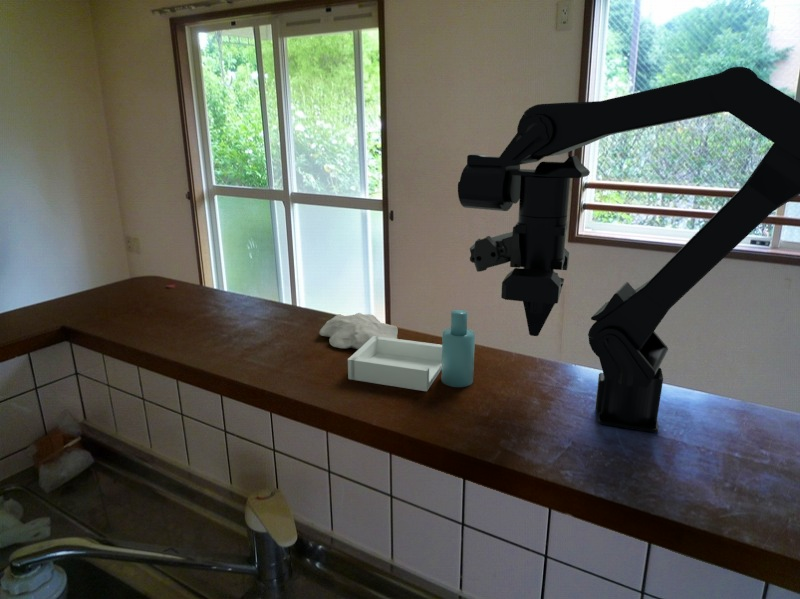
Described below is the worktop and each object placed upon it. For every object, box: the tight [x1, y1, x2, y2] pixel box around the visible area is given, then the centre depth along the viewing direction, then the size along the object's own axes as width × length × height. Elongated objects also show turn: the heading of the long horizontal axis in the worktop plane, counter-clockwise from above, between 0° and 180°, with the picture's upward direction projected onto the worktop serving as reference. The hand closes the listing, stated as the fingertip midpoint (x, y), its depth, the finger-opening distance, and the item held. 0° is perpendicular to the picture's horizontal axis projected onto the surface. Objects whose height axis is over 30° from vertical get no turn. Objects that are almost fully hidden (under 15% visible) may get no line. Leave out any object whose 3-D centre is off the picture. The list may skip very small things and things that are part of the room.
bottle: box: [440, 309, 476, 388], centre depth 76 cm, size 4×4×10 cm
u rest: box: [347, 336, 442, 392], centre depth 80 cm, size 12×9×3 cm
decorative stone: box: [319, 312, 399, 350], centre depth 91 cm, size 11×4×15 cm
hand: (534, 334), depth 72 cm, fingers closed
